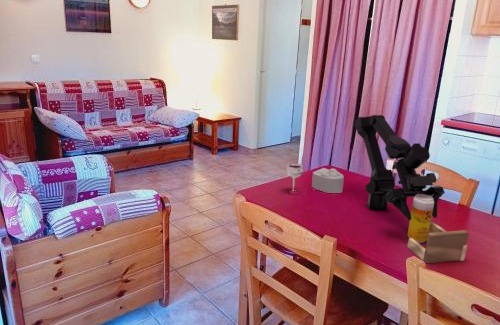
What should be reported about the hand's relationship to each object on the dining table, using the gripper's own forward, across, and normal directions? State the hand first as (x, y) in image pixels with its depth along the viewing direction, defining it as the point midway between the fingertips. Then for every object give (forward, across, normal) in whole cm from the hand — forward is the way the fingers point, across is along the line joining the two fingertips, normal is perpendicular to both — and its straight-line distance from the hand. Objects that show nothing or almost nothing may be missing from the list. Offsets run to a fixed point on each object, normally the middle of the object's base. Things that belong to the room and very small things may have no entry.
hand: (423, 218), depth 123 cm
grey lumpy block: (-29, -11, +40) cm, 50 cm away
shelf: (+8, 0, +4) cm, 9 cm away
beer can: (+5, 0, +7) cm, 8 cm away
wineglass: (-28, -28, +39) cm, 55 cm away
